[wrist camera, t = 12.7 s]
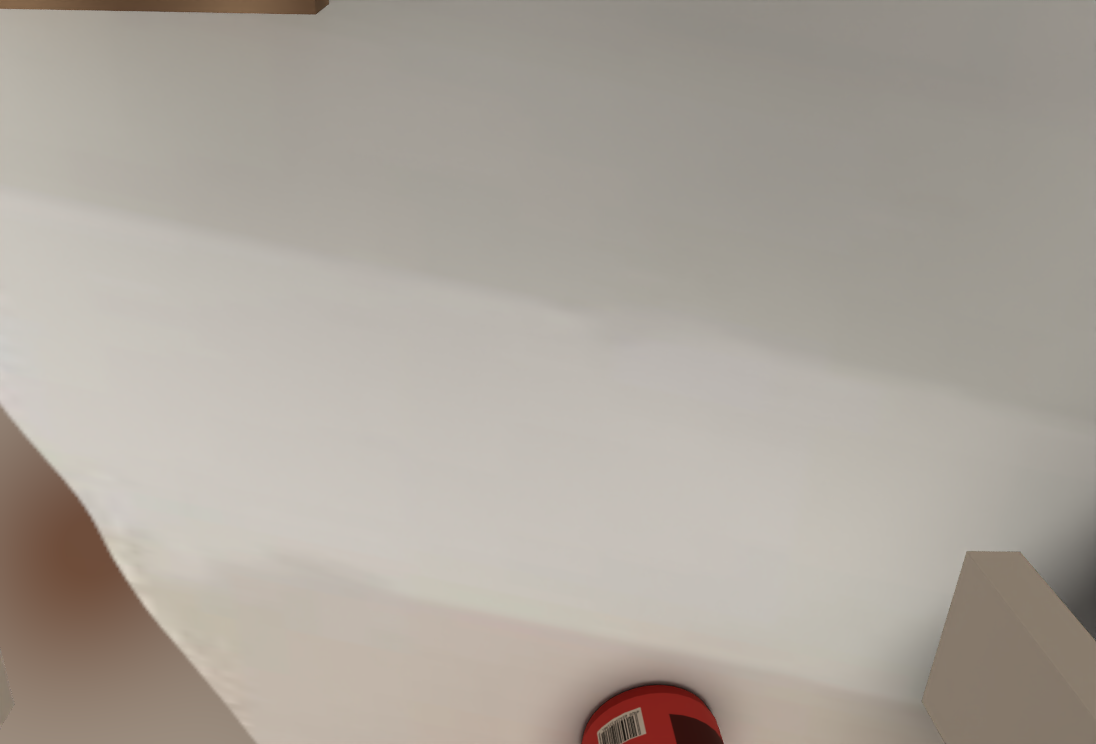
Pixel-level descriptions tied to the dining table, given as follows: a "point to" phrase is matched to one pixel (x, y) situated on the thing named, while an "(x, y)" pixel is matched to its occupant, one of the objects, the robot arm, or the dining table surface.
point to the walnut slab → (175, 5)
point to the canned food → (653, 719)
